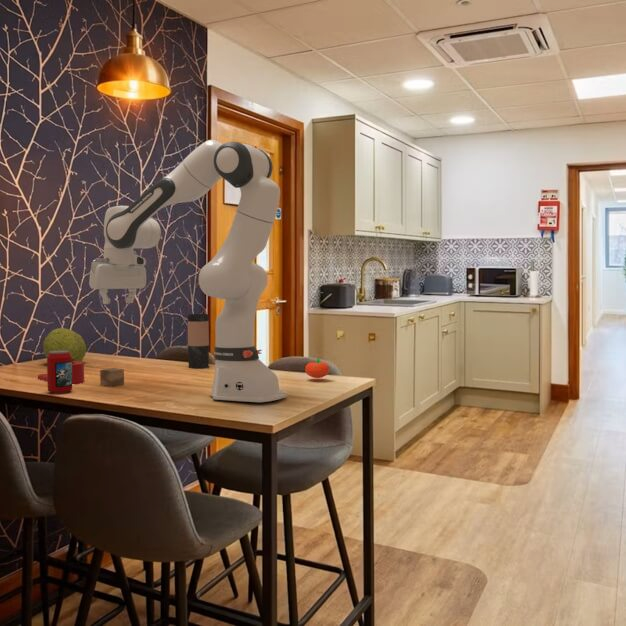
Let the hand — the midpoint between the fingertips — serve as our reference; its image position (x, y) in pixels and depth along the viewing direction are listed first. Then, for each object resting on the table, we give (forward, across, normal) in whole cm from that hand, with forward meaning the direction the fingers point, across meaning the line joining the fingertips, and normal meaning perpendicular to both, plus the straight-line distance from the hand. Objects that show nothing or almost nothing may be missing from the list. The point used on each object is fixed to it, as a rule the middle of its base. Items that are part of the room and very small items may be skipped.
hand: (118, 303), depth 209 cm
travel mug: (+26, +41, +3) cm, 49 cm away
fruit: (+27, +17, +46) cm, 56 cm away
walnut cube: (+26, -2, +1) cm, 26 cm away
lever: (+26, -7, +19) cm, 33 cm away
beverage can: (+26, -19, +4) cm, 32 cm away
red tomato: (+24, +44, -46) cm, 68 cm away
